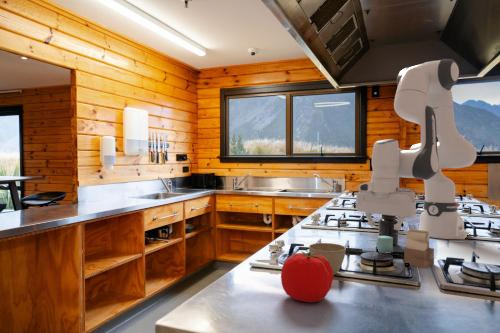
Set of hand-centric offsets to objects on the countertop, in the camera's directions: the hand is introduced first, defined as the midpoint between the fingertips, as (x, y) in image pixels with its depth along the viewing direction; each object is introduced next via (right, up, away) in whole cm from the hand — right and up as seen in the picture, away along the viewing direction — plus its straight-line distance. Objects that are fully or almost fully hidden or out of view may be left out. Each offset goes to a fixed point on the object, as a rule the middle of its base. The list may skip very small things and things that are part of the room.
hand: (384, 227), depth 119 cm
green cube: (0, -8, 0) cm, 8 cm away
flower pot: (-24, -9, -22) cm, 34 cm away
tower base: (+5, -9, -14) cm, 17 cm away
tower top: (+5, -4, -14) cm, 15 cm away
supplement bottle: (+6, -8, +11) cm, 15 cm away
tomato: (-32, -9, -40) cm, 52 cm away
